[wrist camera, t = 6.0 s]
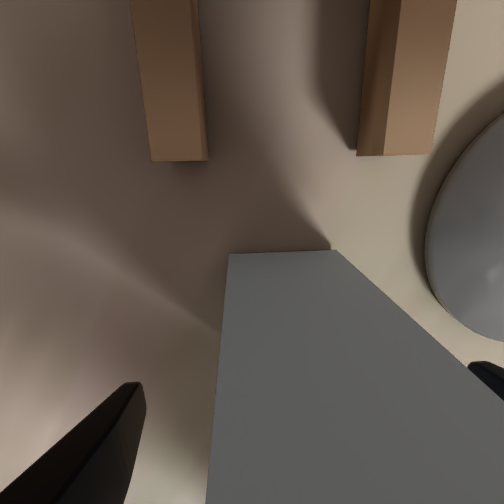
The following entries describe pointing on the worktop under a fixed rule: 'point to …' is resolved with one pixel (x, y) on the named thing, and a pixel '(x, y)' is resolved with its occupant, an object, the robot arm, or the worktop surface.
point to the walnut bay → (373, 90)
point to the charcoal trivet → (471, 236)
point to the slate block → (342, 395)
